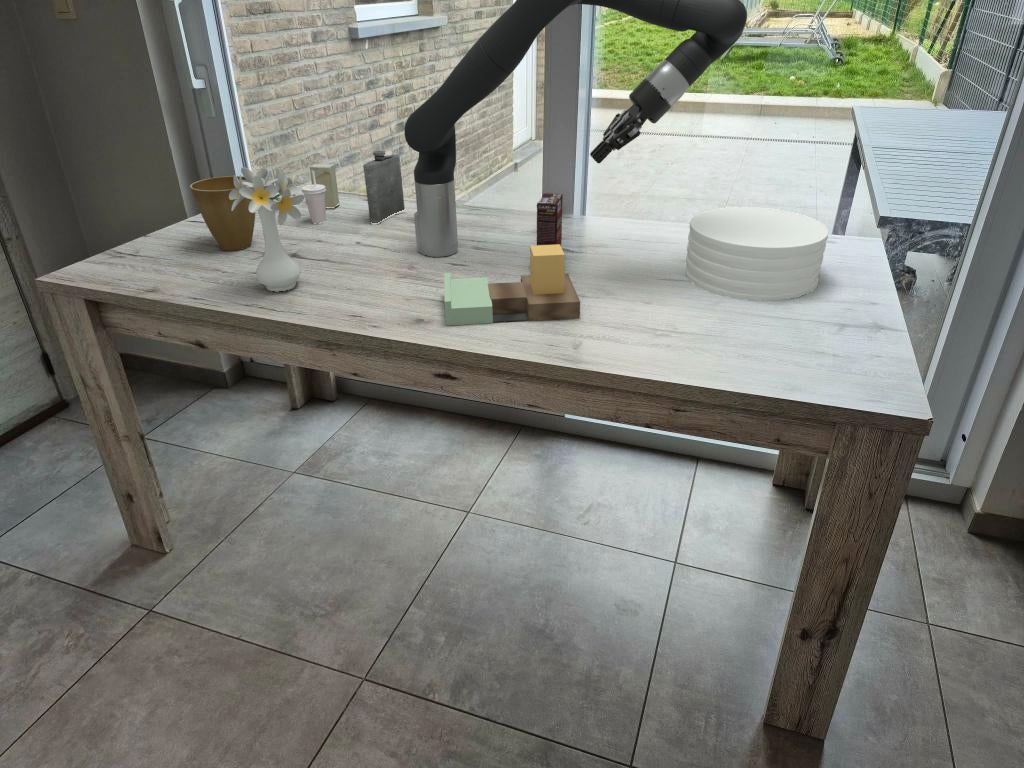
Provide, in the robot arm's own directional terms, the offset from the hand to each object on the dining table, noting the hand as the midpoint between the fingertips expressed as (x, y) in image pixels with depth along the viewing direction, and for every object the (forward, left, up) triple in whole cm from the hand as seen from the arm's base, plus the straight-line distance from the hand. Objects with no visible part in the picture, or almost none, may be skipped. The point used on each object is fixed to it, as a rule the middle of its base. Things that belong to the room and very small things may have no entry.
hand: (594, 159), depth 141 cm
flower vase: (-60, -29, -26) cm, 72 cm away
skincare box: (-90, +25, -26) cm, 97 cm away
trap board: (-6, -17, -26) cm, 32 cm away
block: (-4, -16, -22) cm, 28 cm away
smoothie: (-83, +12, -26) cm, 88 cm away
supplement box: (-11, +4, -26) cm, 29 cm away
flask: (-68, +23, -26) cm, 77 cm away
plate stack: (+32, +16, -26) cm, 44 cm away
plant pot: (-90, -12, -26) cm, 95 cm away
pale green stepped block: (-18, -24, -26) cm, 39 cm away
